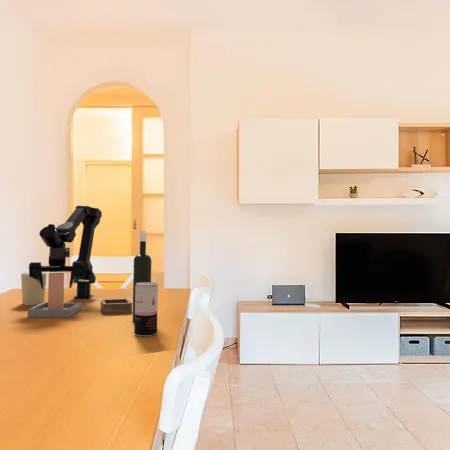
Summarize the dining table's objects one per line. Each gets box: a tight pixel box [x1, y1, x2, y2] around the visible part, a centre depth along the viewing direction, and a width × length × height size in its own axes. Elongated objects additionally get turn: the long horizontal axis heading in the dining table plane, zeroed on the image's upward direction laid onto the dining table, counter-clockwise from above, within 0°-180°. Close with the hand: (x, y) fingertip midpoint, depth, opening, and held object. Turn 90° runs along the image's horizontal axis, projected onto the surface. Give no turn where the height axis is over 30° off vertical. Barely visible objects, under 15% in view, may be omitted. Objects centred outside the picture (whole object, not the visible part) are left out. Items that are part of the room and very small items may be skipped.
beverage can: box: [133, 281, 159, 337], centre depth 134 cm, size 7×7×15 cm
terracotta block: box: [47, 272, 65, 309], centre depth 161 cm, size 5×5×13 cm
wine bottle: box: [132, 230, 152, 324], centre depth 151 cm, size 6×6×30 cm
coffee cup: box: [20, 271, 48, 306], centre depth 179 cm, size 9×9×12 cm
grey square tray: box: [27, 301, 83, 319], centre depth 161 cm, size 14×14×2 cm
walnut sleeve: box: [100, 298, 133, 315], centre depth 167 cm, size 10×10×4 cm
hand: (56, 288), depth 161 cm, fingers open, 9 cm apart
